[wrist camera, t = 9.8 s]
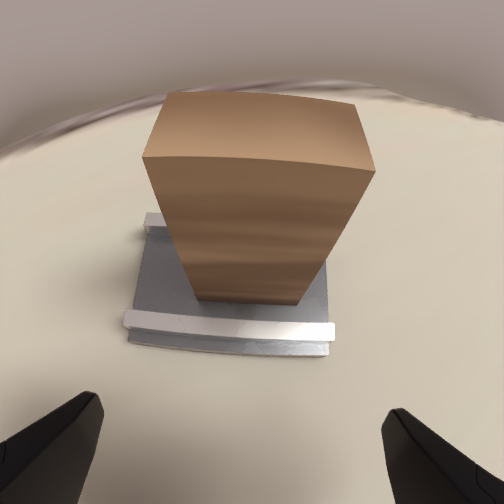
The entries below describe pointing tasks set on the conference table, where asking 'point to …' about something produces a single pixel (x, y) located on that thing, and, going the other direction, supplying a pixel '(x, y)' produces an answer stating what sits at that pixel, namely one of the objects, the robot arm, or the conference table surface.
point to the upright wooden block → (256, 189)
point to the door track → (219, 311)
